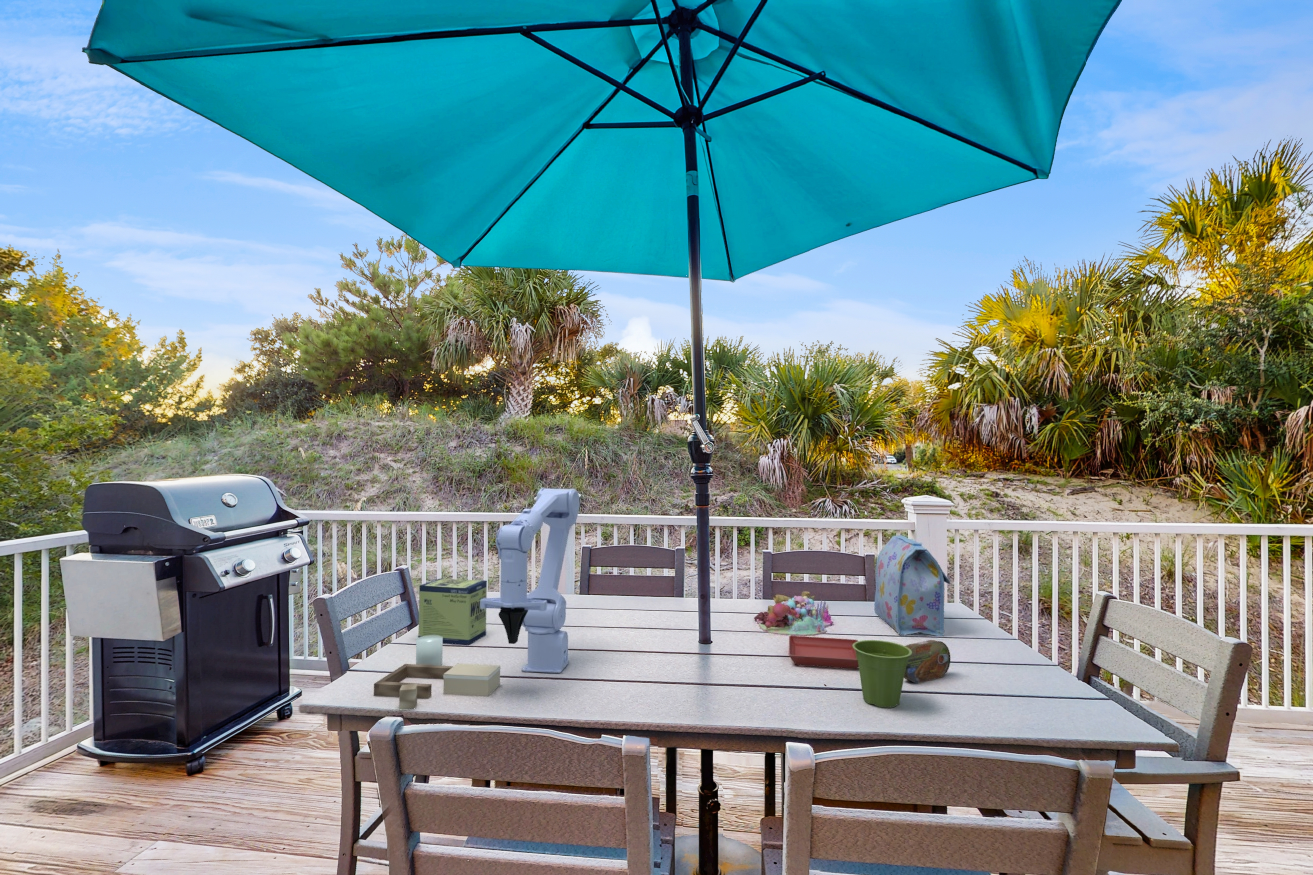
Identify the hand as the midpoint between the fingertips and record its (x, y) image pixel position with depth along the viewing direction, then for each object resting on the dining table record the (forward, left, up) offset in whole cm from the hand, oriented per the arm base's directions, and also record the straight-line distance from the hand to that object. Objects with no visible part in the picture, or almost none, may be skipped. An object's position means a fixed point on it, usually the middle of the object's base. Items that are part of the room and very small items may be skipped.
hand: (513, 642), depth 140 cm
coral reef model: (-66, -64, -11) cm, 93 cm away
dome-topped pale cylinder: (+25, -12, -10) cm, 30 cm away
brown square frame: (+23, 0, -10) cm, 25 cm away
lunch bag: (-101, -67, -11) cm, 121 cm away
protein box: (+30, -36, -11) cm, 48 cm away
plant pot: (-79, -5, -11) cm, 80 cm away
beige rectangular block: (+9, 0, -11) cm, 14 cm away
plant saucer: (-71, -33, -11) cm, 79 cm away
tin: (-92, -21, -11) cm, 95 cm away
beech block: (+18, +11, -10) cm, 24 cm away
